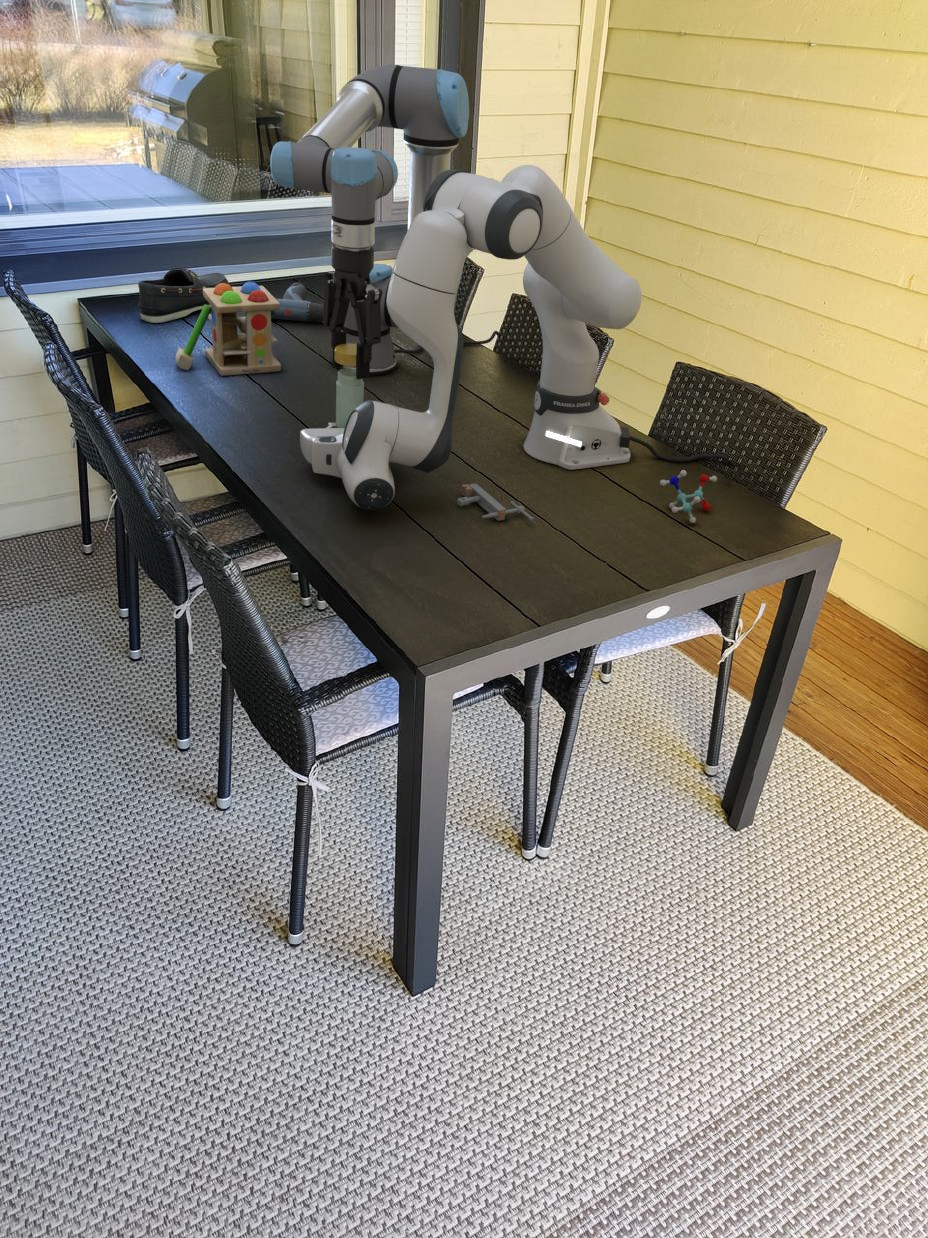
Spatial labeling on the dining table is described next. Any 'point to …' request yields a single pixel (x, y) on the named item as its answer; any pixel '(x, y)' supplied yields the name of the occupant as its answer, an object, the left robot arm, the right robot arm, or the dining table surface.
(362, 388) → the jar
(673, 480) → the molecular model
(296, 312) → the power drill
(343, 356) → the lid
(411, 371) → the dining table surface
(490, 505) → the clamp
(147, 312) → the boat shoe
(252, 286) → the pounding bench toy
